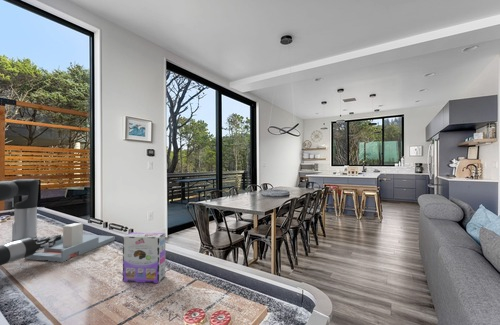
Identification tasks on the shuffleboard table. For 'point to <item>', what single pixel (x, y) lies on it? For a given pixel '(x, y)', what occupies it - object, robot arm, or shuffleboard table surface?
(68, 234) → the cream block
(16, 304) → the shuffleboard table surface
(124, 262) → the candy box
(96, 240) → the trough
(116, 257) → the shuffleboard table surface
